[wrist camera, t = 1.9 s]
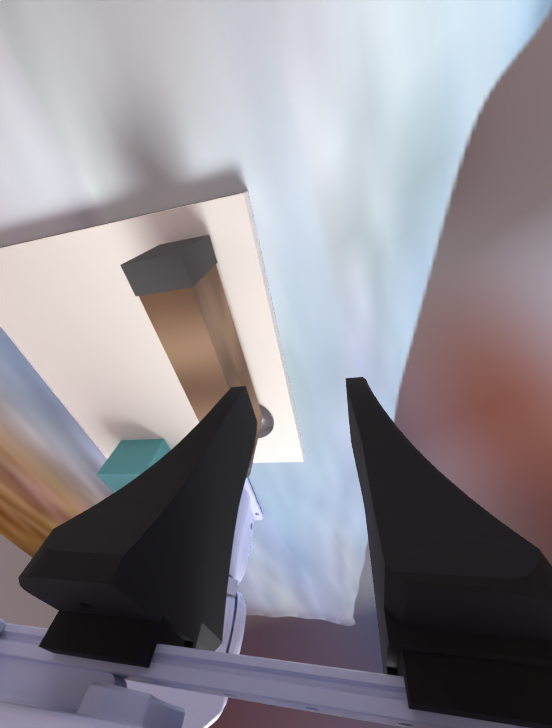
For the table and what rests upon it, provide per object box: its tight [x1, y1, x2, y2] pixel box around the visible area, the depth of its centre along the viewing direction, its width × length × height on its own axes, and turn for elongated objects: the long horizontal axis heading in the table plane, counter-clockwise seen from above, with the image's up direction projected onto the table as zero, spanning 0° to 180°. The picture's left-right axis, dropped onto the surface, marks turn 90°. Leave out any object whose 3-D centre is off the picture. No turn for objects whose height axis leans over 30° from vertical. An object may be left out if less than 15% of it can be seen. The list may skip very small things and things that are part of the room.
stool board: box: [0, 191, 304, 493], centre depth 23 cm, size 23×22×5 cm
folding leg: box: [121, 235, 263, 478], centre depth 19 cm, size 16×3×5 cm, turn 11°
